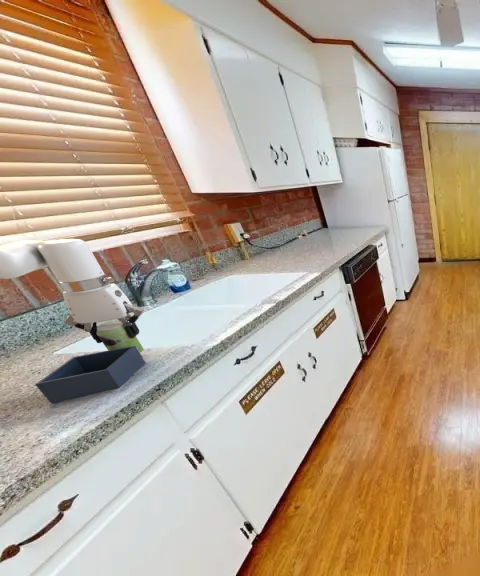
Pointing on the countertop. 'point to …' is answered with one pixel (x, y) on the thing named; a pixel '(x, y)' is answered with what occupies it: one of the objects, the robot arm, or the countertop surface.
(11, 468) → the countertop surface
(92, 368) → the bin
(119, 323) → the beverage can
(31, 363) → the countertop surface
